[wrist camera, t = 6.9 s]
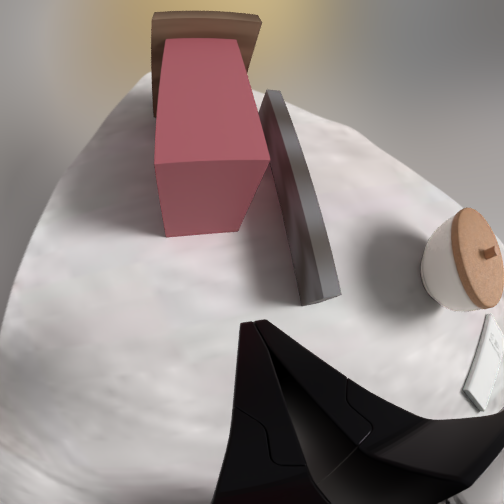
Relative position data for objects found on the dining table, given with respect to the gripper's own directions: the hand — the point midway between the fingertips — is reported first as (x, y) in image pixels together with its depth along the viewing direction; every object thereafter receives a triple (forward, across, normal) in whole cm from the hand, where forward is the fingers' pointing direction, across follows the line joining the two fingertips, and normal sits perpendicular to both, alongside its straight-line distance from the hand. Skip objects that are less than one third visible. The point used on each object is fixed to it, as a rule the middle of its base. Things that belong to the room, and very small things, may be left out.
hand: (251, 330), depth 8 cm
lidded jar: (+10, -26, +8) cm, 29 cm away
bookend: (+18, -2, 0) cm, 18 cm away
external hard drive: (0, -36, +19) cm, 40 cm away
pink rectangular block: (+20, 0, -2) cm, 20 cm away
